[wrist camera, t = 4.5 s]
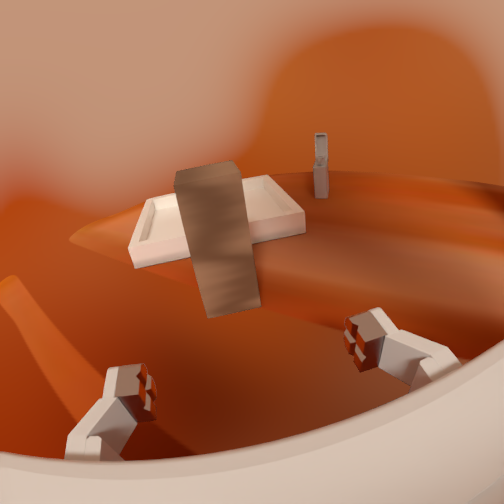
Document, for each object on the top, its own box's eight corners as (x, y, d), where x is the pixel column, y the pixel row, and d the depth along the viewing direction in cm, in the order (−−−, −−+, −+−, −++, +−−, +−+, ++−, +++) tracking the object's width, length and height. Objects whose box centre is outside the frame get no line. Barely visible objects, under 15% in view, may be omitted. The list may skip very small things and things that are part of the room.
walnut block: (251, 278, 26) (232, 160, 21) (261, 306, 23) (240, 172, 18) (204, 288, 26) (176, 171, 21) (207, 318, 22) (173, 185, 17)
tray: (269, 189, 46) (267, 174, 45) (306, 232, 32) (304, 211, 31) (150, 214, 44) (146, 199, 43) (135, 268, 30) (128, 248, 29)
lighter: (327, 198, 40) (324, 139, 36) (314, 198, 41) (310, 139, 37) (330, 182, 46) (326, 131, 42) (319, 182, 46) (315, 131, 43)
